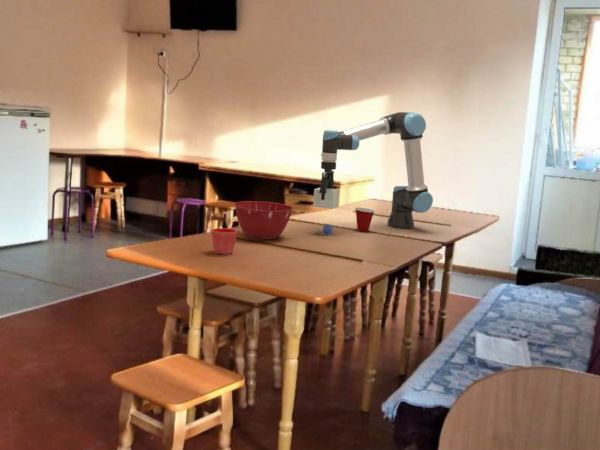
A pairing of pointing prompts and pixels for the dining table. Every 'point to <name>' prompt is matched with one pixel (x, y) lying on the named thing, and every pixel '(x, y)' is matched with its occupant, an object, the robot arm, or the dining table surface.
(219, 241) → the flower pot
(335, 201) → the pale green brick
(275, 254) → the dining table surface
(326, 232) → the ball
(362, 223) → the plastic cup
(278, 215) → the mixing bowl
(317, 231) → the grey spot
